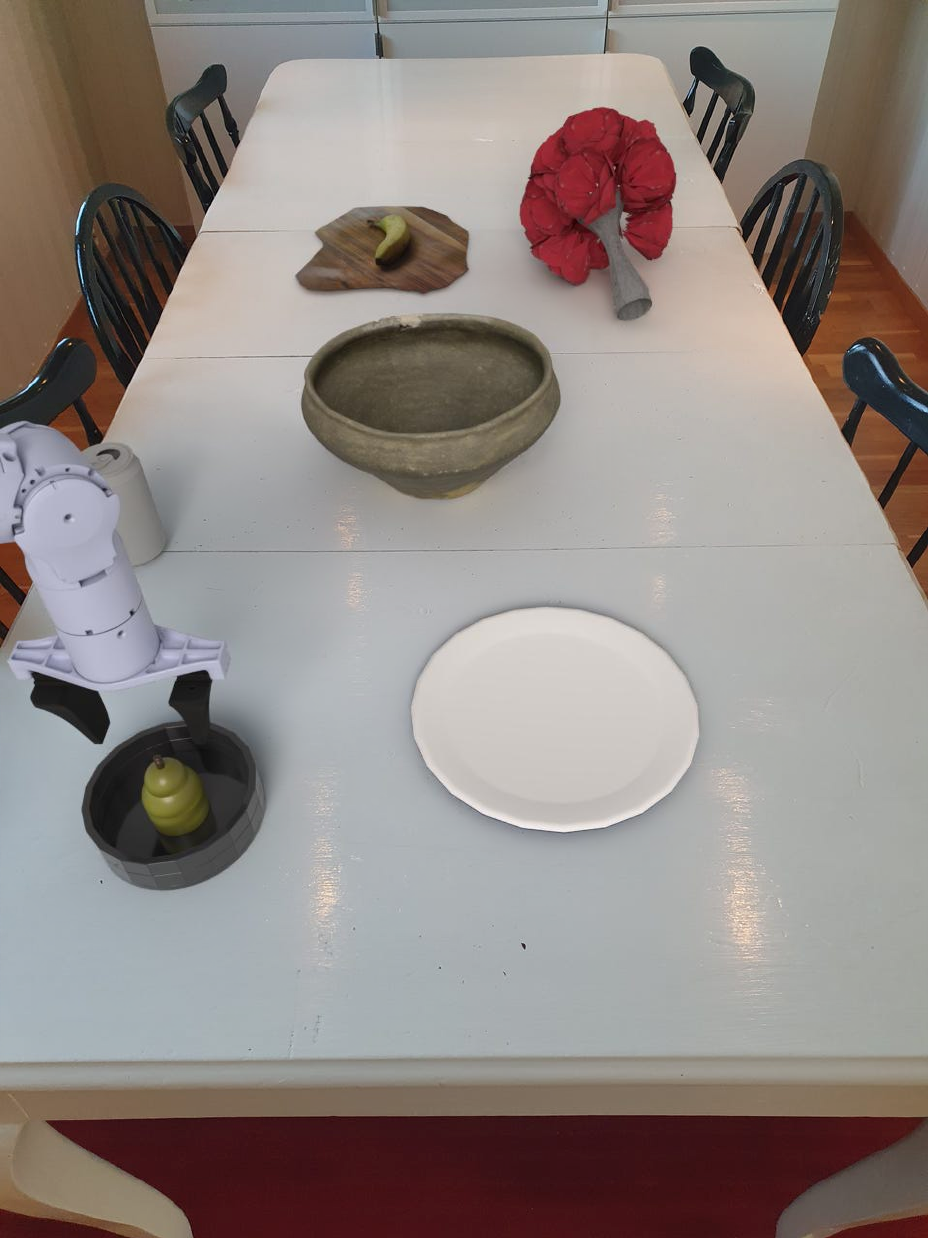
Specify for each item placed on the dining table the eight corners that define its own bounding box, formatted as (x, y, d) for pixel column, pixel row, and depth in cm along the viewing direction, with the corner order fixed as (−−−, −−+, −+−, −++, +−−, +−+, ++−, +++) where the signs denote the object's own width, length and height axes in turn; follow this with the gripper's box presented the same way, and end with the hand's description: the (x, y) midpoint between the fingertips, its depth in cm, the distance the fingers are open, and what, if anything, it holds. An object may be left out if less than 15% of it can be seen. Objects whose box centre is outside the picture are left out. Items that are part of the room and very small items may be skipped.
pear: (170, 847, 70) (144, 793, 65) (140, 811, 73) (113, 756, 68) (220, 811, 73) (199, 756, 67) (190, 777, 75) (167, 722, 70)
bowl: (603, 493, 102) (615, 382, 92) (385, 583, 92) (372, 469, 82) (473, 383, 119) (472, 279, 109) (278, 449, 109) (256, 341, 99)
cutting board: (468, 296, 136) (467, 271, 134) (288, 298, 137) (284, 273, 134) (471, 205, 161) (470, 183, 158) (318, 207, 162) (315, 185, 159)
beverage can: (179, 538, 98) (149, 444, 89) (146, 576, 94) (111, 482, 85) (129, 526, 99) (95, 434, 91) (94, 564, 95) (55, 470, 87)
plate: (497, 582, 92) (497, 572, 91) (737, 673, 83) (740, 663, 82) (355, 757, 77) (353, 749, 76) (628, 892, 68) (630, 884, 67)
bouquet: (688, 337, 140) (631, 177, 147) (738, 235, 117) (668, 52, 124) (553, 365, 138) (503, 202, 145) (578, 268, 115) (516, 79, 122)
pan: (152, 925, 67) (136, 898, 64) (68, 814, 73) (51, 786, 71) (297, 816, 73) (289, 788, 70) (207, 724, 80) (197, 694, 77)
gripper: (221, 562, 61) (257, 692, 71) (9, 563, 61) (74, 692, 71) (197, 638, 56) (240, 767, 66) (-33, 638, 57) (43, 766, 66)
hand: (152, 733), depth 68 cm, fingers open, 7 cm apart
